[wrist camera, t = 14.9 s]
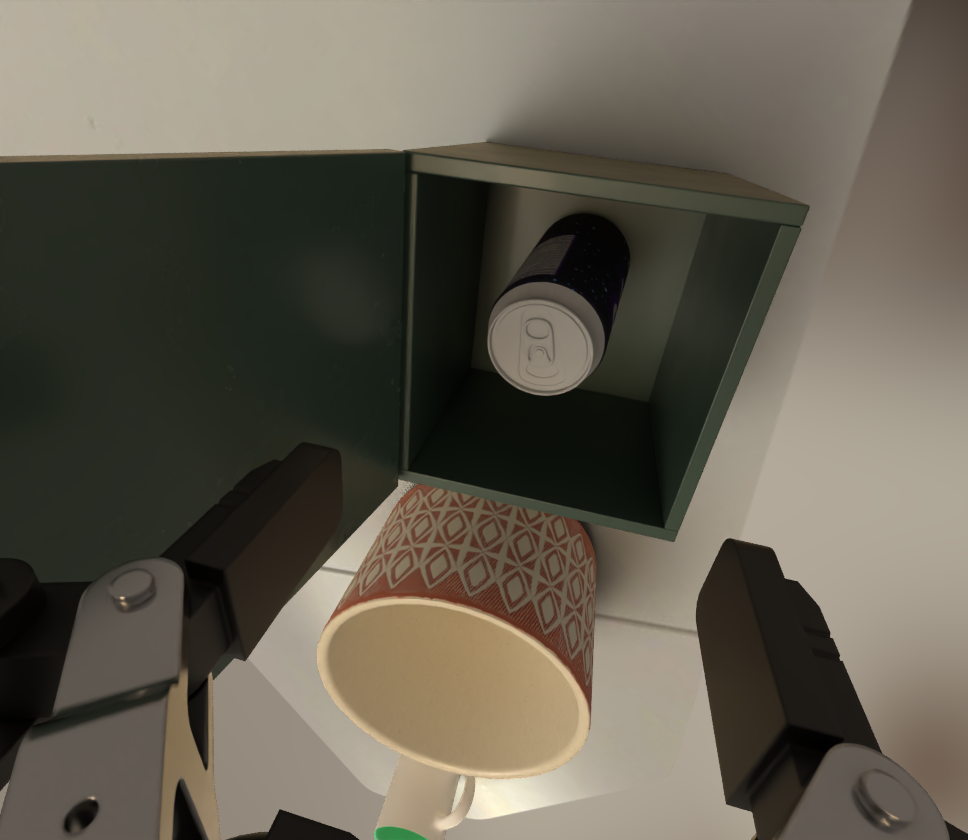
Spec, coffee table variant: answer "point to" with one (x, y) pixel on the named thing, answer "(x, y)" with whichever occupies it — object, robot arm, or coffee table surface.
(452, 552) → the planter
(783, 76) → the coffee table surface
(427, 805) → the mug
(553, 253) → the beverage can
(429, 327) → the bin
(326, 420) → the bin lid
